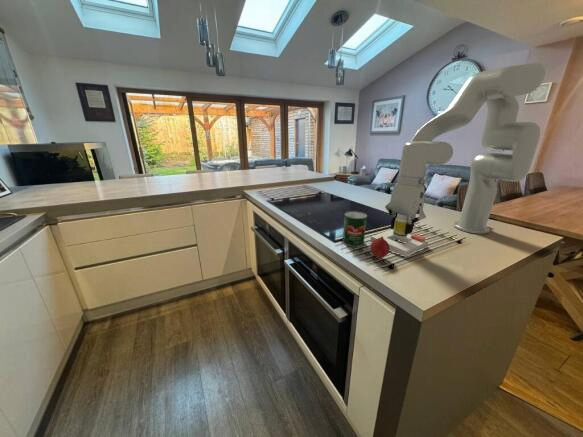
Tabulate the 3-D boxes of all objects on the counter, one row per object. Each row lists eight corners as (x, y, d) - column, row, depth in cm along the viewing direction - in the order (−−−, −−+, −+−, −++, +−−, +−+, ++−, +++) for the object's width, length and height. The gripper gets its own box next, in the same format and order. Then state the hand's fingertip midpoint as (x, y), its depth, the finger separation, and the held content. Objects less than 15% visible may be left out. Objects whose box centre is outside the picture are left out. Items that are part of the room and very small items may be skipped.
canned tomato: (356, 236, 93) (359, 210, 90) (368, 245, 86) (371, 216, 83) (338, 238, 91) (340, 212, 87) (349, 247, 84) (352, 219, 80)
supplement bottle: (408, 238, 82) (412, 216, 80) (394, 237, 83) (398, 215, 80) (405, 233, 87) (409, 211, 84) (391, 232, 88) (395, 210, 85)
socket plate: (392, 234, 96) (394, 226, 94) (427, 247, 85) (429, 238, 83) (370, 242, 88) (371, 234, 87) (405, 258, 77) (406, 248, 76)
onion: (365, 255, 79) (368, 234, 76) (378, 252, 81) (381, 231, 78) (377, 264, 74) (381, 241, 71) (391, 260, 76) (395, 238, 73)
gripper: (442, 184, 74) (430, 236, 80) (393, 176, 87) (386, 221, 93) (429, 186, 70) (418, 242, 76) (381, 178, 83) (374, 225, 89)
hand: (400, 230), depth 84 cm, fingers closed on supplement bottle, 4 cm apart
